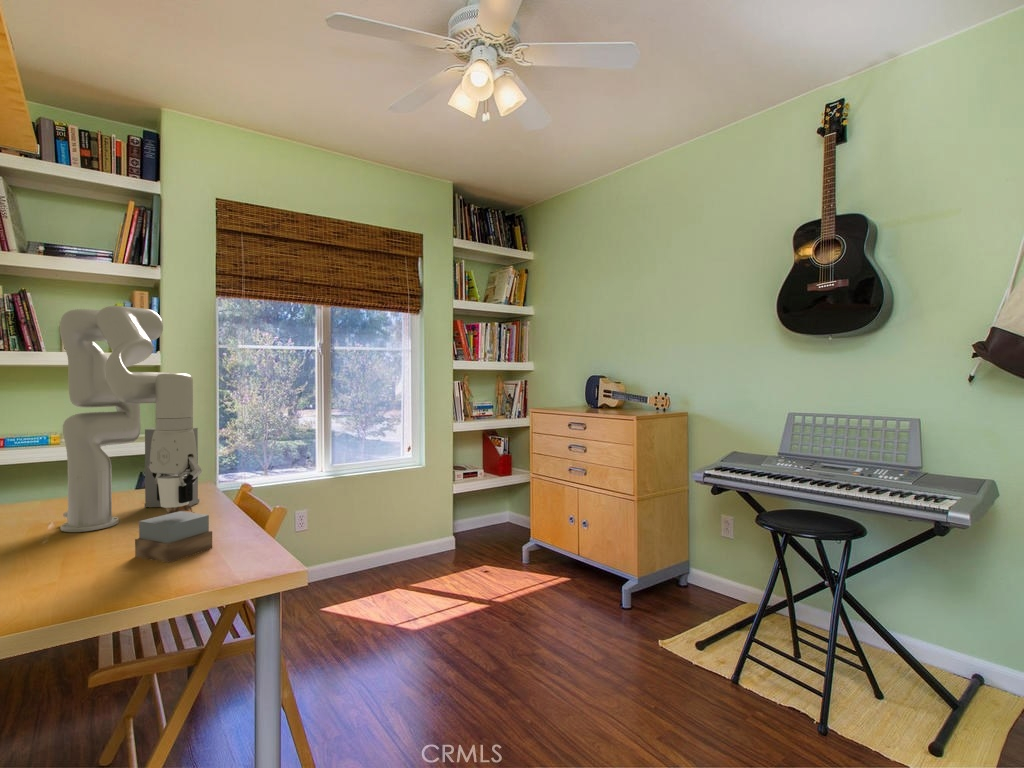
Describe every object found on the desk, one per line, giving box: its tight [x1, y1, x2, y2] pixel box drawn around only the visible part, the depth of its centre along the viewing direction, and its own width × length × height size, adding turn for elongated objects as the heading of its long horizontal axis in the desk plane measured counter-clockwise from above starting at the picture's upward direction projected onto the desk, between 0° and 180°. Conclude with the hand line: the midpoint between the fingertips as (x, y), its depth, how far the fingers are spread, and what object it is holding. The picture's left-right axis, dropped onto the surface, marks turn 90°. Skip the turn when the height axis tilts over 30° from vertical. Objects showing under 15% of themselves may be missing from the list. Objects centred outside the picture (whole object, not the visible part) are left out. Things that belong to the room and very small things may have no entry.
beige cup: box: [157, 474, 189, 509], centre depth 125 cm, size 7×7×7 cm
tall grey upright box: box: [144, 427, 200, 508], centre depth 170 cm, size 14×6×25 cm, turn 93°
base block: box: [134, 530, 213, 564], centre depth 125 cm, size 11×11×4 cm
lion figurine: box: [165, 504, 196, 514], centre depth 138 cm, size 15×5×9 cm, turn 54°
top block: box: [138, 511, 210, 543], centre depth 125 cm, size 10×10×4 cm
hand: (174, 500), depth 125 cm, fingers closed on beige cup, 6 cm apart
